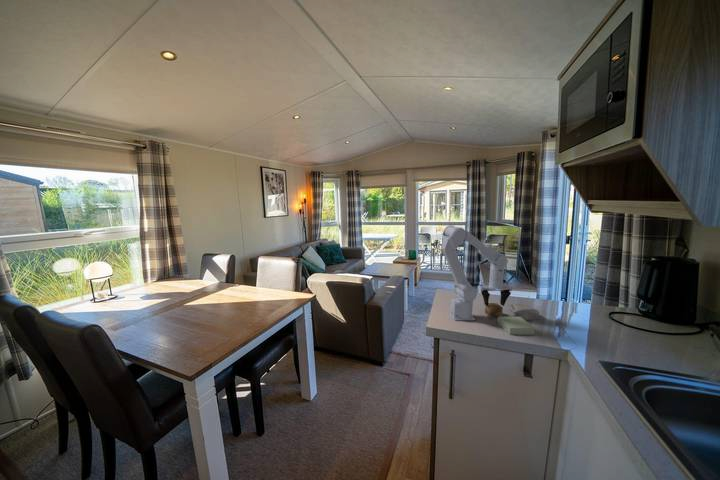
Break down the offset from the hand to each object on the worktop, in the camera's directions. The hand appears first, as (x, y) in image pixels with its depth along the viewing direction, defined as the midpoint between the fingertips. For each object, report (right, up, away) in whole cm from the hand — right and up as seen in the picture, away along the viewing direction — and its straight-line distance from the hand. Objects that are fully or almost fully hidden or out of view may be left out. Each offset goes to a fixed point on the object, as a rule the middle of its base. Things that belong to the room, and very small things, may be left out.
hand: (494, 305), depth 125 cm
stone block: (+14, -5, +2) cm, 15 cm away
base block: (+3, -7, -12) cm, 14 cm away
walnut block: (0, -5, +1) cm, 5 cm away
